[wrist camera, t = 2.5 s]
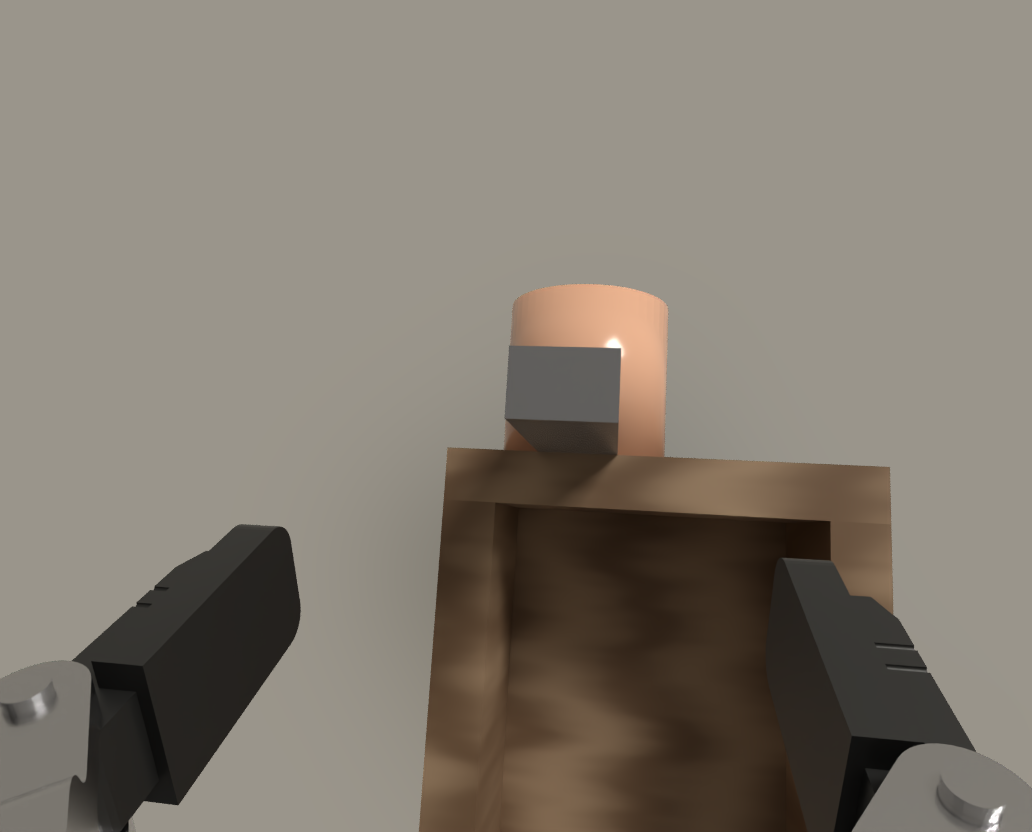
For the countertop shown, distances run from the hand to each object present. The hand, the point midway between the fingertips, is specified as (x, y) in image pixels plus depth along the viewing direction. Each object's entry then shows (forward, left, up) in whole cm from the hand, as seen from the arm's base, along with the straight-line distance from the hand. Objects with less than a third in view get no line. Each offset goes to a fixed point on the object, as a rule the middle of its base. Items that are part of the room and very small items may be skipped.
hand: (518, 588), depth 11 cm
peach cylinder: (0, +14, +4) cm, 15 cm away
